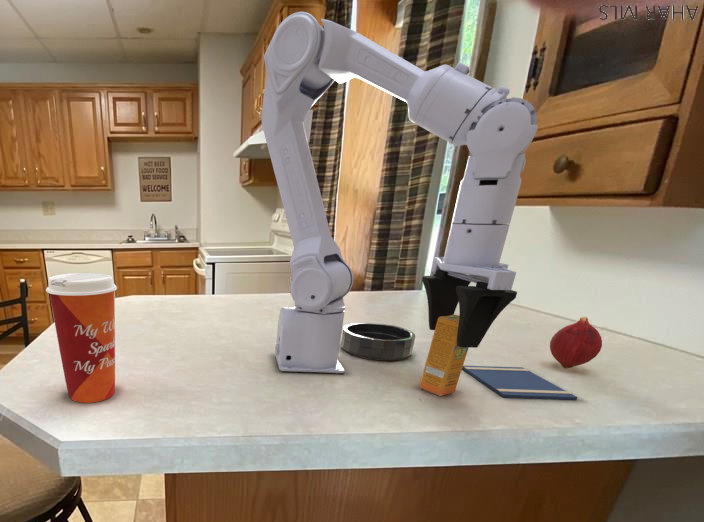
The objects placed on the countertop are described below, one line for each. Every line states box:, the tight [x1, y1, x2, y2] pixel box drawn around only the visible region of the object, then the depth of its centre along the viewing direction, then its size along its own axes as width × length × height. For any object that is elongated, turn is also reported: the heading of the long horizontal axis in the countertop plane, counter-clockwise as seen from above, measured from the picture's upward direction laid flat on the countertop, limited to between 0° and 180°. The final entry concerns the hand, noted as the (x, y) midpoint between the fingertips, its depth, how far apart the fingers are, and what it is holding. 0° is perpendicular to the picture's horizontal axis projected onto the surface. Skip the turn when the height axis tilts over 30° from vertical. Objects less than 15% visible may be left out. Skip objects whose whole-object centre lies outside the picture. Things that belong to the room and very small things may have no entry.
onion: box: [549, 316, 603, 369], centre depth 64 cm, size 6×6×8 cm
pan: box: [340, 322, 416, 362], centre depth 72 cm, size 11×11×4 cm
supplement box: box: [419, 314, 469, 397], centre depth 55 cm, size 3×3×10 cm
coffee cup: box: [45, 272, 118, 404], centre depth 53 cm, size 8×8×15 cm
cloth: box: [462, 365, 578, 401], centre depth 60 cm, size 9×11×1 cm
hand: (451, 337), depth 54 cm, fingers open, 7 cm apart
